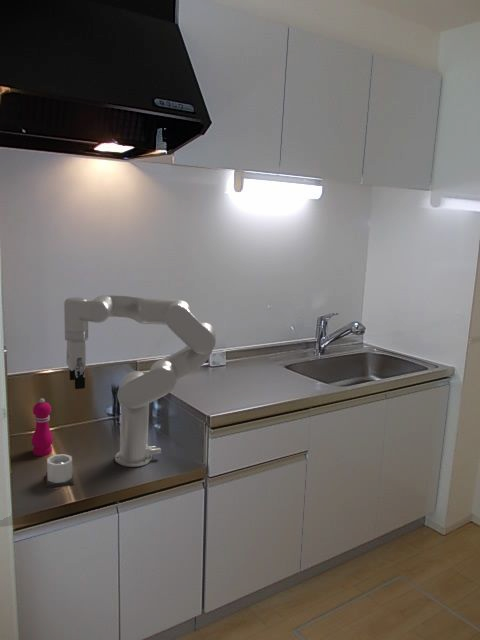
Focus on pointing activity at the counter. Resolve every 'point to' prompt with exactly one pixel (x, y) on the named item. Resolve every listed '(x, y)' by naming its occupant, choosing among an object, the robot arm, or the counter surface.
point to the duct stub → (69, 482)
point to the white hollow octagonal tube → (59, 468)
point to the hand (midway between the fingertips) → (77, 383)
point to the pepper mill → (42, 429)
